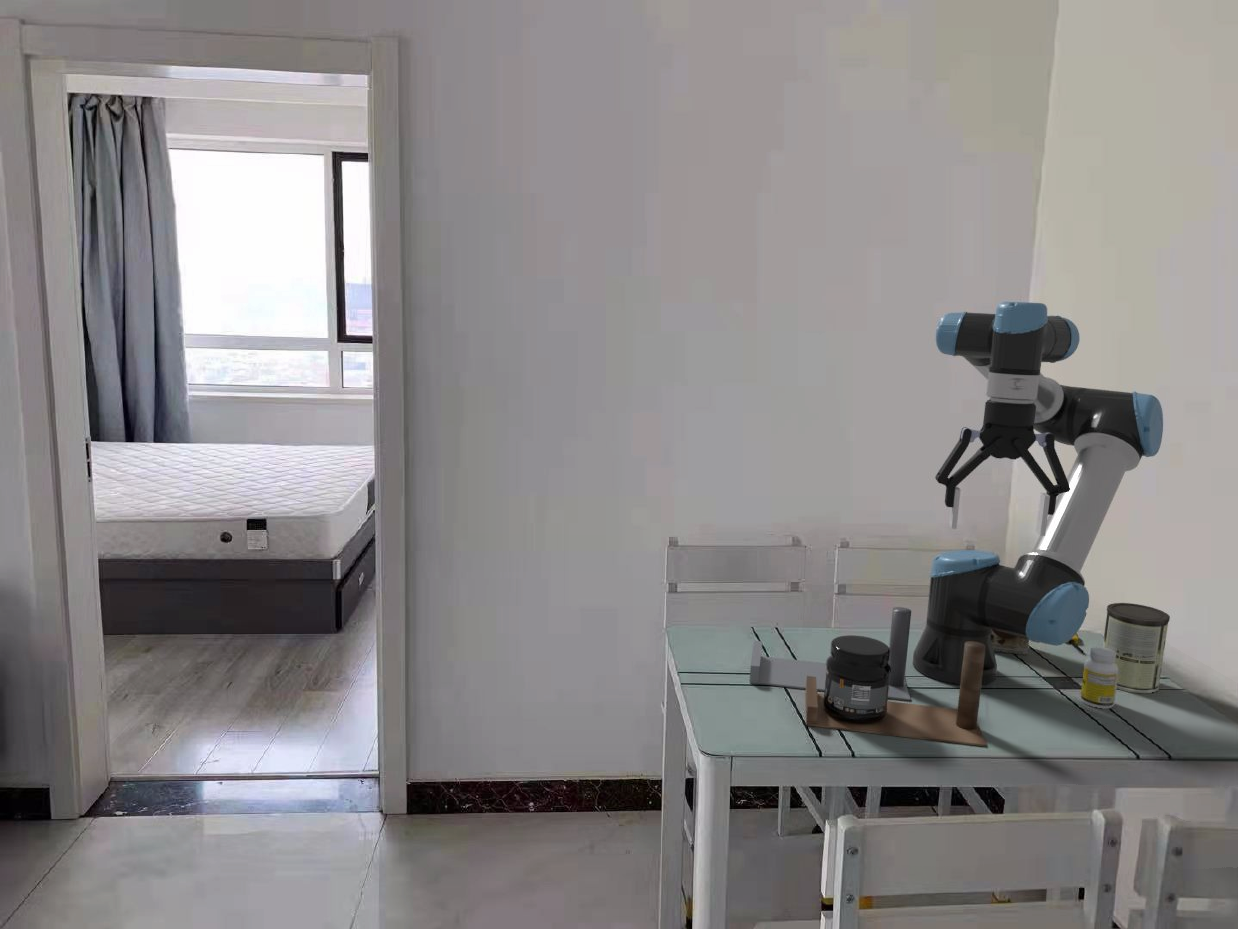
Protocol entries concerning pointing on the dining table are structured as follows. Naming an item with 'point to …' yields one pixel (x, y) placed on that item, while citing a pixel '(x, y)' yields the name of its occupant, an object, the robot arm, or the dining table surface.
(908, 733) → the wooden peg stand
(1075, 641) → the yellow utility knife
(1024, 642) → the cookie box
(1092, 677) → the supplement bottle
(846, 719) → the supplement container
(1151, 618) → the coffee can
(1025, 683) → the dining table surface
